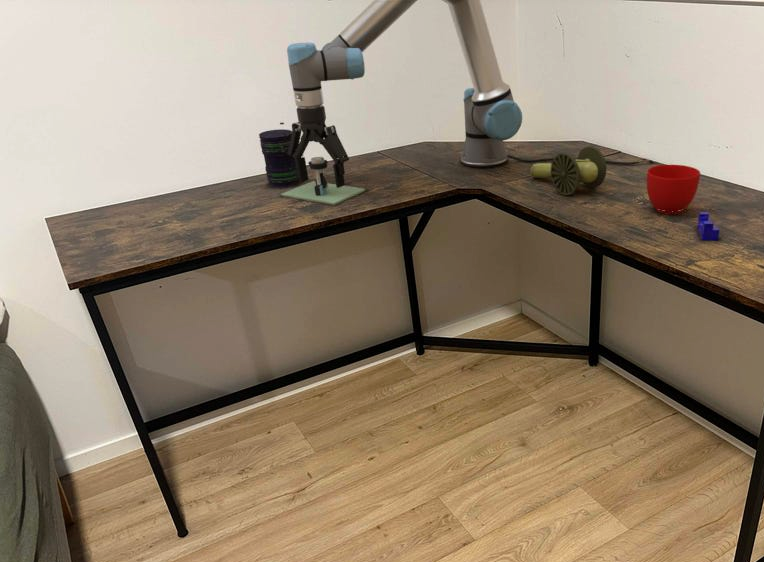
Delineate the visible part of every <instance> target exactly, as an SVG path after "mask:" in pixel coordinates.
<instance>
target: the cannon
mask: <svg viewBox="0 0 764 562" xmlns="http://www.w3.org/2000/svg"><path fill="white" fill-rule="evenodd" d="M553 158H554V159H553V160H551V161H552V162H551V163H550V162H549V163H547V162H546V163H544V162H543V163H542V162H537V163H536V162H535V163H534V164H532V166H531V167H530V175H531V176H532V177H533V178H534V179H545V180H546V179H547V180H548V179H549V180H551V182H552V184H553V187H554V188H555V190H556V191H557V192H558V193H559V194H561V195H562V196H571V195H573V194H574V193H576V191H577V190H578V189H579V186H580V183H581V184H583V185H584V186H585V187H587V188H591V189H593V188H594V189H595V188H597V187H600V186H601V185H602V184H603V182H604V181H605V179H606V176H607V163H606V162H605V161H606V159H605V156H604V155H603V153H602V151H600V149H599V148H598V147H595V146H592V145H591V146H590V145H589V146H586V147H584V148H582V149H581V150H580V151H579V153H578V155H577V157H576V158H577V160H575V159H574V158H575V157H574V156H573V155H571V153H568V152H561V153H558V154H557V155H555V157H553Z"/></svg>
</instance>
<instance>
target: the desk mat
mask: <svg viewBox="0 0 764 562" xmlns="http://www.w3.org/2000/svg"><path fill="white" fill-rule="evenodd" d="M315 181H316V180H313V181H310V182H307V183H305V184H301V185H300V186H298V187H297V186H296V187H295V188H293V189H290V190H287V191H285V192H282V193H280V196H281V197H284V198H291V199H297V200H303V201H308V202H314V203H321V204H326V205H331V206H336V205H338V204H340V203H342V202H345V201H347V200H349V199H352V198H353V197H355V196H357V195H360V194H362V193H364V192H366V188H362V187H355V186H349V185H344V186H342V187H339V188H337V187H336V183H330V182H327V183H328V187H329V188H328V193H326V194H324V195H323V196H316V194H315V188H314V187H315V186H316V182H315Z"/></svg>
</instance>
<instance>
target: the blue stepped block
mask: <svg viewBox="0 0 764 562" xmlns="http://www.w3.org/2000/svg"><path fill="white" fill-rule="evenodd" d="M697 218H698V219H697V227H696V229H697V231H698V234H699V236H700V238H701V240H702V241H719V236H720V228H719V227H718V226H715V224H714V221H710V220H709V219H710V213H709V212H708V211H699V212H698V217H697ZM698 224H699V225H698ZM700 230H701V231H700Z"/></svg>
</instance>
